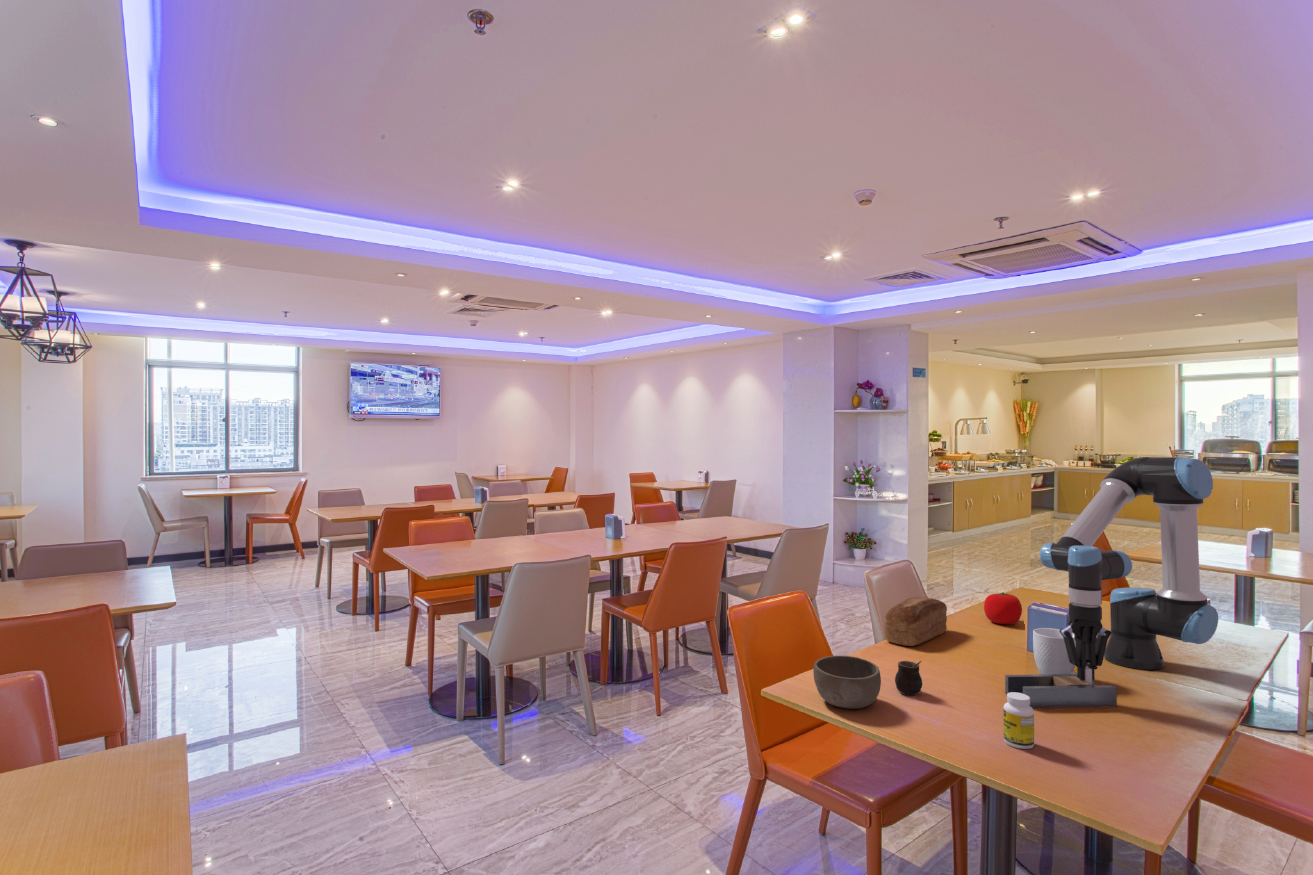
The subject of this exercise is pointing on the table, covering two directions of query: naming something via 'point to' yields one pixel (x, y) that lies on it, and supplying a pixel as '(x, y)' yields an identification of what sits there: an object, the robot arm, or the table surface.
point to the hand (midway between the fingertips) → (1086, 691)
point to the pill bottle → (1018, 721)
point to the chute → (1060, 692)
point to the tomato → (1003, 608)
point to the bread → (915, 621)
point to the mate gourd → (908, 678)
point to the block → (1068, 681)
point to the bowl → (847, 681)
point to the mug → (1051, 652)
